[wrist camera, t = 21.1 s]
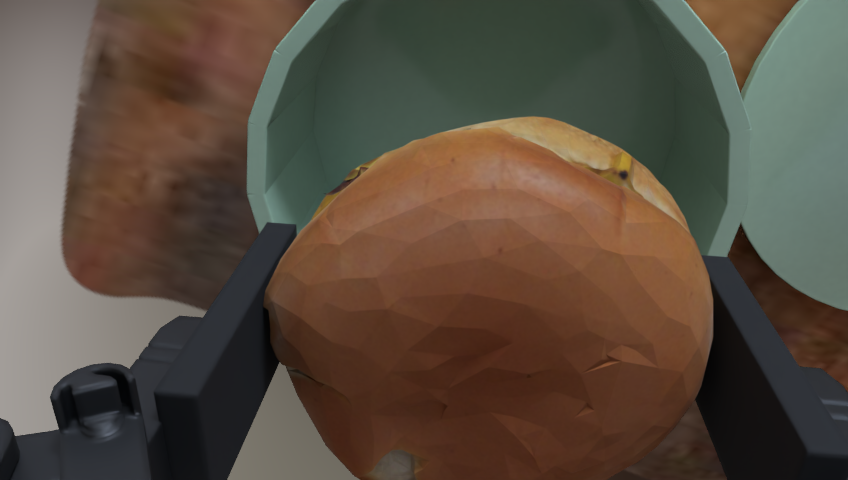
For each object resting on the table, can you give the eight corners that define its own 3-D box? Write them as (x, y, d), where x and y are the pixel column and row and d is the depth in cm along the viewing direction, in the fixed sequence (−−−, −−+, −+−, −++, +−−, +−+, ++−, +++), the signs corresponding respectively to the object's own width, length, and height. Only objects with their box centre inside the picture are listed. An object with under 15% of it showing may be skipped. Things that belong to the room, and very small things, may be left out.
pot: (601, -174, 25) (644, -199, 18) (738, 209, 31) (809, 302, 24) (229, 42, 30) (147, 90, 23) (413, 334, 36) (394, 441, 29)
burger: (752, 163, 15) (846, 263, 11) (601, 447, 20) (630, 595, 16) (335, 46, 15) (274, 106, 11) (275, 362, 19) (216, 490, 15)
